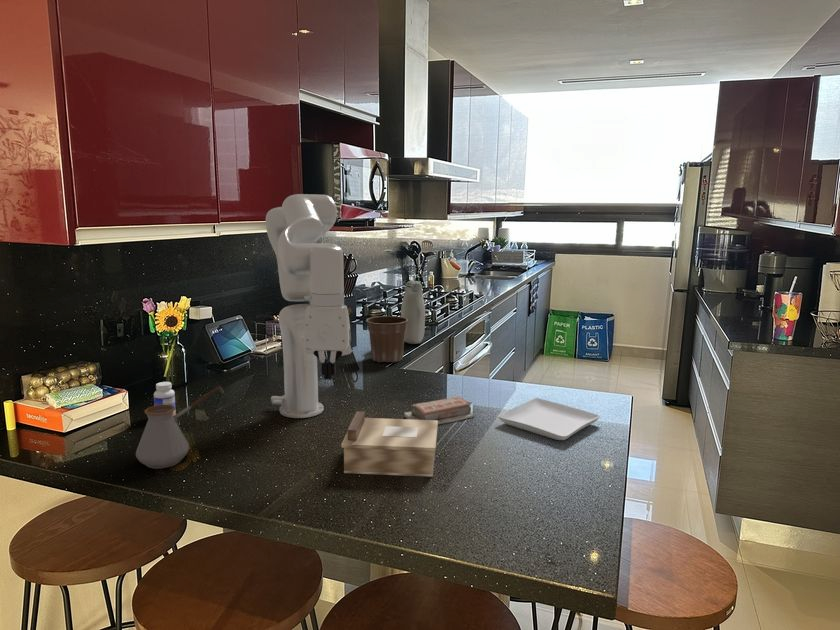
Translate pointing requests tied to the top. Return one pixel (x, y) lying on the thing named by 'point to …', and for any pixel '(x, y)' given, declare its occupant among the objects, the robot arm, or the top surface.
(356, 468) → the mailer box
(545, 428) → the salad plate
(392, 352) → the plant pot
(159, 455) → the coffee pot
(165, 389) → the pill bottle
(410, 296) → the glass bottle
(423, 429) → the lid
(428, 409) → the packaged product
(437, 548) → the top surface
